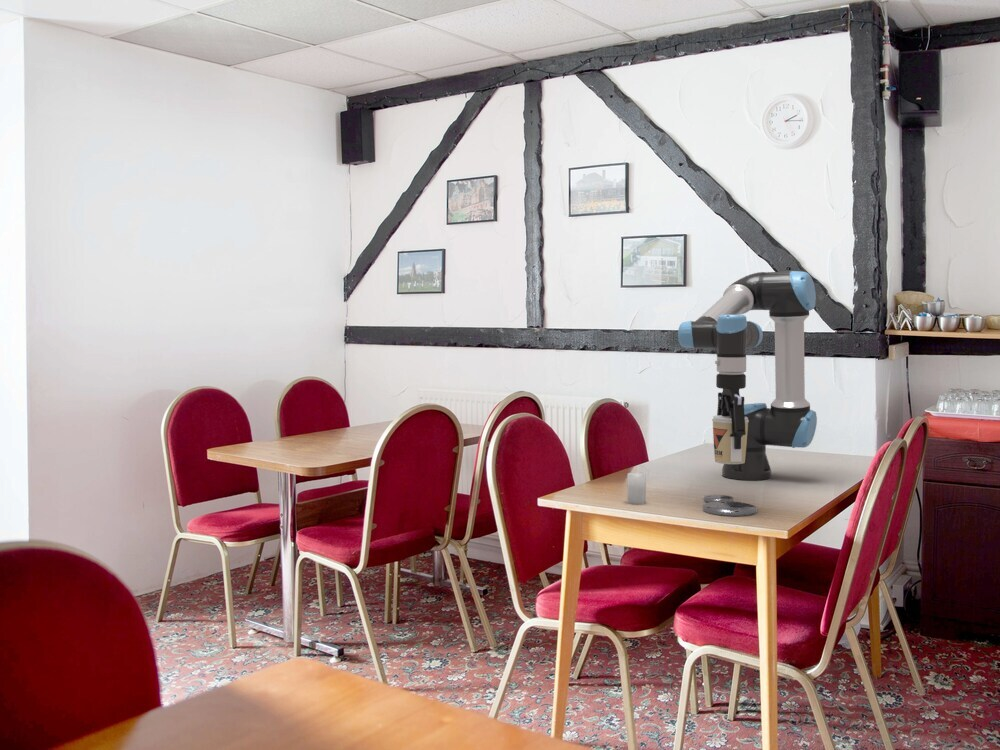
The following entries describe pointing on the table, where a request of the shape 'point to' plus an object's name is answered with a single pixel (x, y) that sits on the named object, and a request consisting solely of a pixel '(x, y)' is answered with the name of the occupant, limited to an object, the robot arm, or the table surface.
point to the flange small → (717, 498)
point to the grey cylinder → (636, 488)
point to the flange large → (729, 508)
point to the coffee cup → (726, 439)
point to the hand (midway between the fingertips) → (730, 458)
